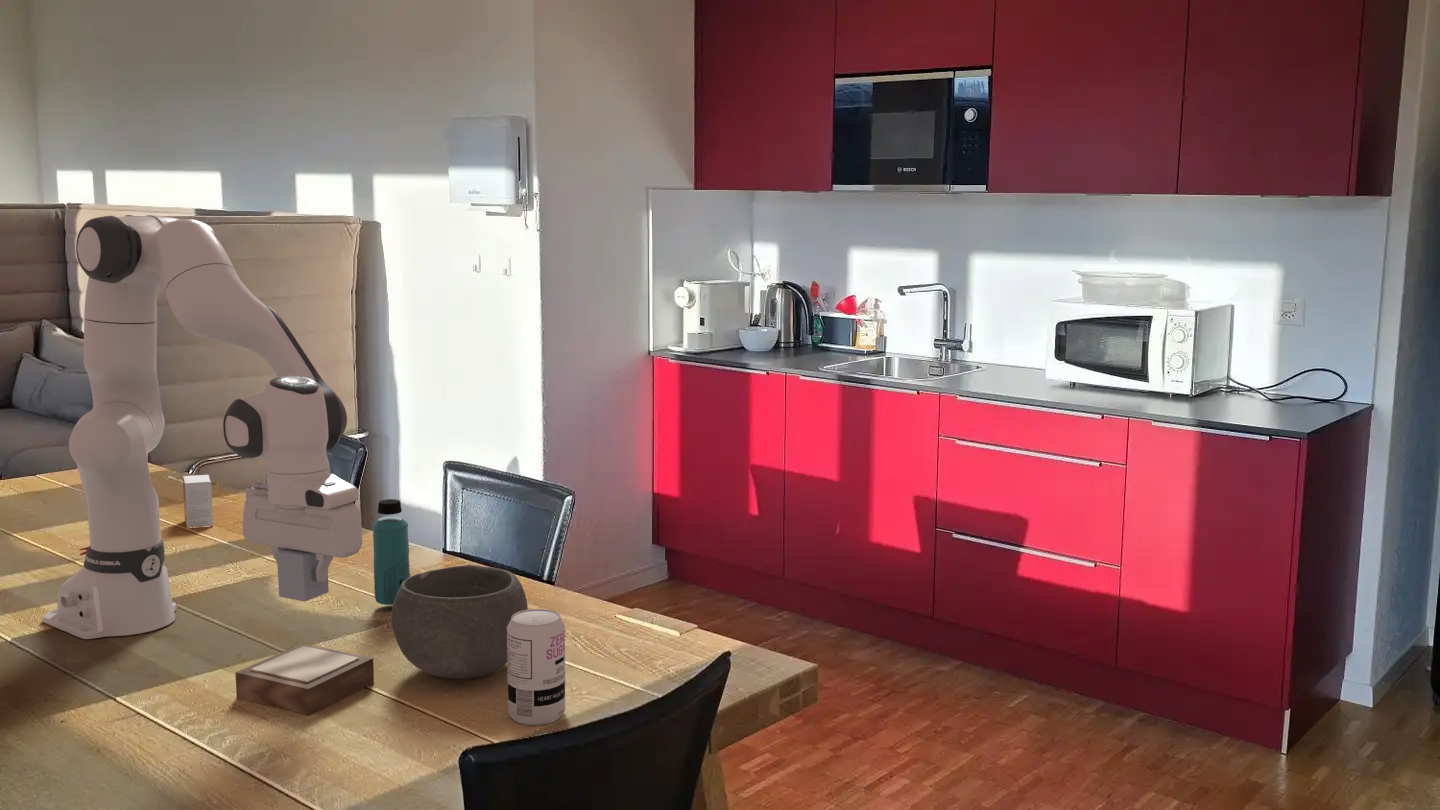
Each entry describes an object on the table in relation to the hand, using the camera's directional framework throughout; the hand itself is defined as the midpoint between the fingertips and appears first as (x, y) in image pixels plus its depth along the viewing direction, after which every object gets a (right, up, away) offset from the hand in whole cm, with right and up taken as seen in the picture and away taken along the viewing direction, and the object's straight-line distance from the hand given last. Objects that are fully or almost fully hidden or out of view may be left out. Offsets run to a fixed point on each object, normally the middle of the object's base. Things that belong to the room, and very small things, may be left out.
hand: (303, 577), depth 190 cm
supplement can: (+36, -20, -5) cm, 41 cm away
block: (0, -3, 0) cm, 3 cm away
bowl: (+21, -17, +11) cm, 29 cm away
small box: (-55, -1, +97) cm, 111 cm away
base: (0, -17, +3) cm, 18 cm away
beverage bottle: (+3, -11, +42) cm, 43 cm away
